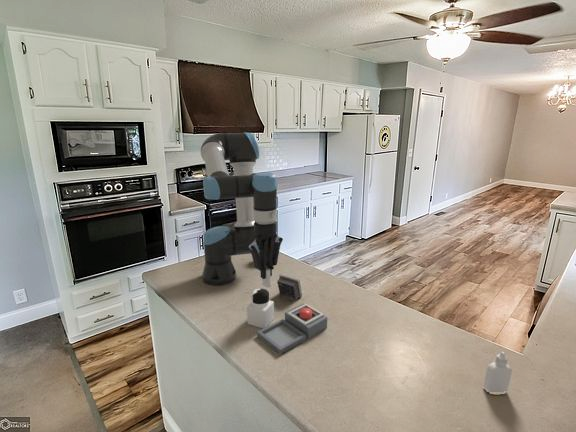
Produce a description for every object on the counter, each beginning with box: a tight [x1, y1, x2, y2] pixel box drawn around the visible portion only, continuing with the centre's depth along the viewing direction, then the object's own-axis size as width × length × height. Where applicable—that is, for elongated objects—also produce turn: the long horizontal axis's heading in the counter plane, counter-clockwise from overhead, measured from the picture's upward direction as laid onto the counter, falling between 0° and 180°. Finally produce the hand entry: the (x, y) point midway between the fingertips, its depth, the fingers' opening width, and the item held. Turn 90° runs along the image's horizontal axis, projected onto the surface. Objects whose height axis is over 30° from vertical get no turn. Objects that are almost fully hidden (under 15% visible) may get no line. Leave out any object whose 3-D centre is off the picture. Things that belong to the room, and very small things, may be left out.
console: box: [256, 303, 328, 356], centre depth 110 cm, size 12×21×5 cm, turn 131°
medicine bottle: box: [246, 288, 275, 329], centre depth 115 cm, size 7×7×12 cm
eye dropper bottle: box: [483, 351, 513, 392], centre depth 85 cm, size 4×6×12 cm
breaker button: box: [299, 308, 312, 321], centre depth 114 cm, size 4×4×4 cm
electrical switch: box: [276, 273, 303, 301], centre depth 132 cm, size 9×5×9 cm, turn 57°
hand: (266, 285), depth 113 cm, fingers closed
